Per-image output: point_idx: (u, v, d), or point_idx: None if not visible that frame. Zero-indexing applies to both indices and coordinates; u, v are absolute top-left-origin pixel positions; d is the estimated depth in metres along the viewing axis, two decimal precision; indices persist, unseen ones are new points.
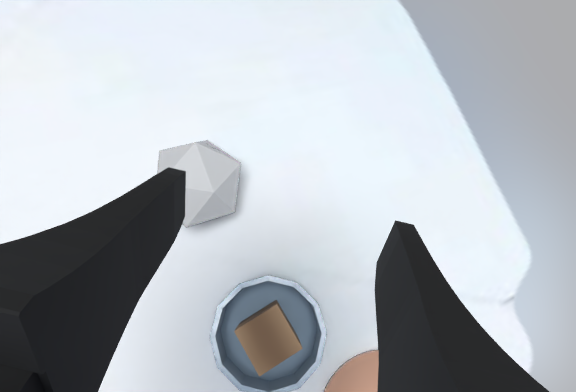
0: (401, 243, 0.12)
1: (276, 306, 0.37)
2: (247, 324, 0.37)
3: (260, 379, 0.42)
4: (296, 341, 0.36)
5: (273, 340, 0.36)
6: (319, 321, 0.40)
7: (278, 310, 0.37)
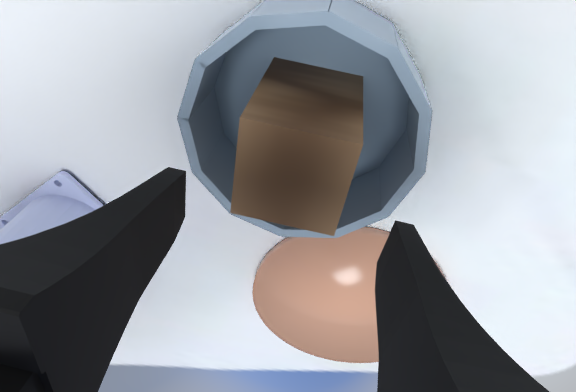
0: (401, 243, 0.12)
1: (358, 147, 0.14)
2: (275, 128, 0.15)
3: None
4: (334, 221, 0.17)
5: (299, 190, 0.16)
6: (396, 195, 0.19)
7: (355, 156, 0.15)
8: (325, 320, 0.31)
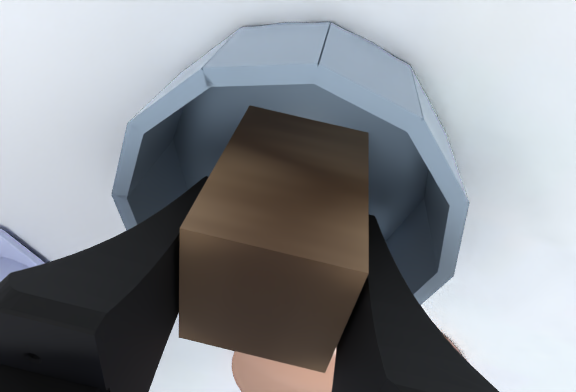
0: None
1: (361, 276, 0.09)
2: (234, 245, 0.09)
3: None
4: (325, 357, 0.12)
5: (273, 319, 0.11)
6: None
7: (355, 286, 0.10)
8: None
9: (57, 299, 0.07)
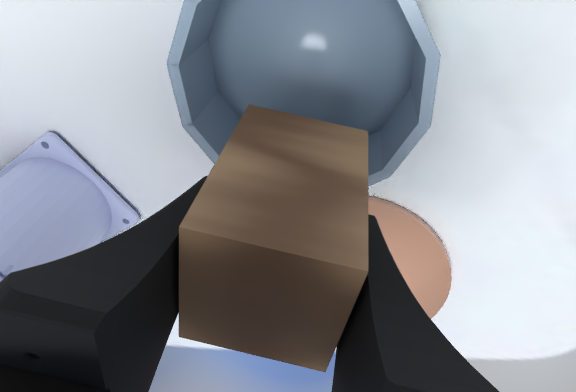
0: None
1: (361, 274, 0.09)
2: (233, 244, 0.09)
3: (235, 118, 0.22)
4: (326, 356, 0.12)
5: (273, 318, 0.11)
6: (399, 152, 0.18)
7: (355, 284, 0.10)
8: None
9: (57, 298, 0.07)
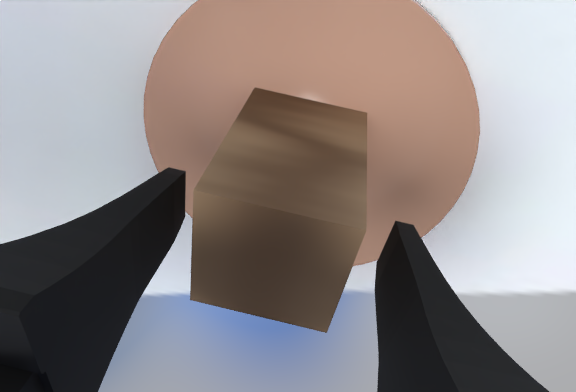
0: (401, 243, 0.12)
1: (360, 233, 0.10)
2: (243, 205, 0.10)
3: None
4: (327, 316, 0.12)
5: (279, 279, 0.12)
6: None
7: (354, 243, 0.11)
8: None
9: None
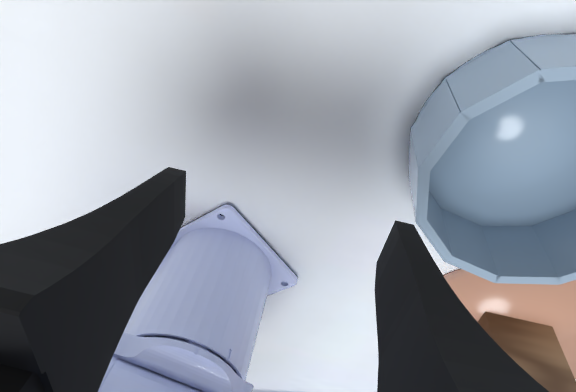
0: (401, 243, 0.12)
1: None
2: None
3: (433, 199, 0.23)
4: None
5: None
6: None
7: None
8: None
9: None
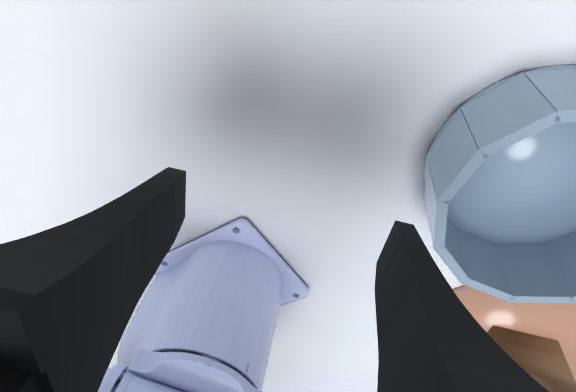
0: (401, 243, 0.12)
1: None
2: None
3: (448, 219, 0.23)
4: None
5: None
6: None
7: None
8: None
9: None
